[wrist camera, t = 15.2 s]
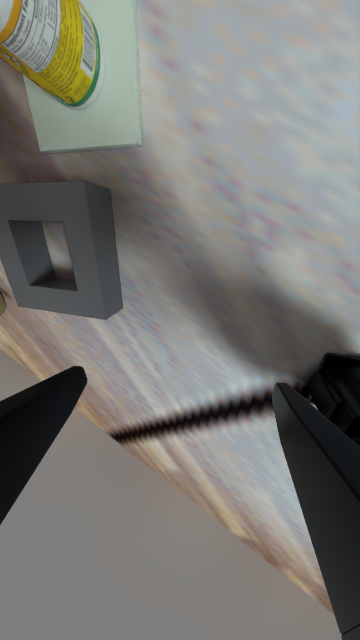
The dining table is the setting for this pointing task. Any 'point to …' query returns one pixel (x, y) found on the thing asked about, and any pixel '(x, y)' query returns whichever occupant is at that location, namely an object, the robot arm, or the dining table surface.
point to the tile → (113, 100)
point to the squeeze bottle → (2, 304)
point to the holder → (83, 241)
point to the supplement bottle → (54, 48)
